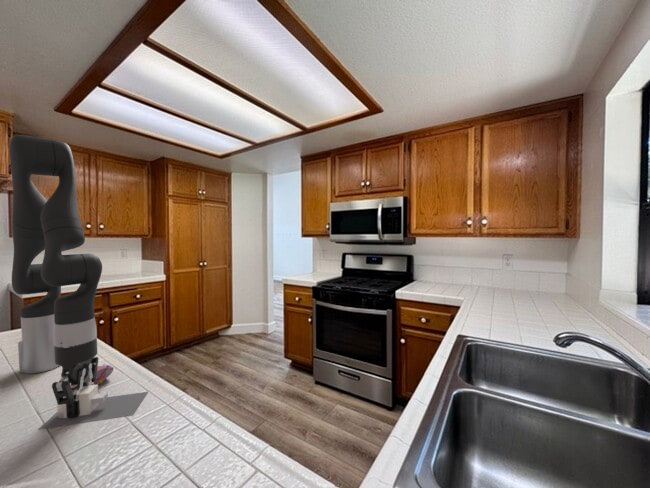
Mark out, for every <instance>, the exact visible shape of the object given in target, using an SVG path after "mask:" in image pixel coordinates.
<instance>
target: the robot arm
mask: <svg viewBox="0 0 650 488" xmlns="http://www.w3.org/2000/svg"><path fill="white" fill-rule="evenodd" d="M9 161H10V162H9V163H10V172H11V173H10V174H11V181H12V217H11V218H12V219H11V220H12V224H11V225H12V239H13V259H12V270H11V288H12V290H13V292H14V293H15V294H17V295H22V296H23V295H31V294H41V293H46V295H45V296H43V297H42V298H41V299H39V300H37V301H34V302H32V303H28V304H27V305H24V306H23V307H21V308H20V327H21V329H20V330H21V340H20V341H18V343H17V346H18V347H17V350H18V351H17V353H18V365H19V366H18V372H19V373H20V374H21V373H25V374H29V375H30V374H37V373H43V372H47V371H51V370H54V369H56V368H58V367H60V366H61V367H62V370H61V378H60V379H59V381H54V382H53V383H52V385H51V389H52V392H53V394H54V397H55V400H56V404H57V403H58V405H62V404H66V412H67V418H74V417H77V416H78V415H79V414H80V407H79V394H80V389H82V388H83V386H89V385H92V384H93V383H94V382H95V381H96V375H97V367H98V365H99V357H98V356H97V355H98V333H97V329H98V328H97V322H96V318H95V298H96V293H97V290H98V285H99V282H100V280H101V276H102V273H103V263H102V261H101V259H100V257H99V256H97V255H96V254H94V253H76V254H75V253H74V254H62V252H66V251H69V250H74V249H77V248H80V247H81V246H82V245H84V244H85V241H86V238H85V232H84V229H83V224H82V221H81V217H80V213H79V206H78V196H77V195H78V194H77V180H76V170H75V169H76V168H75V161H74V156H73V153H72V149H71V147H70V145H68V144H67V142H65V141H61V140H57V139H50V138H45V137H38V136H32V135H24V134H15V135H13V136H12V137H11V138H10V142H9ZM32 175H36V176H47V177H58V185H57V187H56V189H55V190H54V192H53V193H52V195H51V196H50V197H49V198H48V199H47V198H45V196H43V194H41V192H40V191H39V190H38V189H37V187H36V185H35V184H34V182H33V180H32V178H31V176H32ZM42 252H44V254H43V255H44V256H43V258H42V263H33V261H34V260H35V259H36V257H38V255H39V254H41V253H42ZM73 285H79V286H78V288H77V289H76V290H75V291H74V292H71V293H68V294H65V295H62V287H64V286H65V287H66V286H73ZM70 385H77V386H74V387H71V386H70ZM72 391H74V396H73V393H72ZM63 397H64V398H63Z"/></svg>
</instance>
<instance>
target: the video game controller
mask: <svg viewBox="0 0 650 488" xmlns="http://www.w3.org/2000/svg"><path fill="white" fill-rule="evenodd" d="M113 371H114V367H113V366H112V365H109V364H106V363H103V364H102V365H99V366H98V367H97V375H96V381H95V382H92V385H97V384H98V385H101V384H103V383H104V381H105V380H106V379H107V378H108V377H109V376H111V374H112V373H113ZM70 386H71V387H74V386H77V385H70Z"/></svg>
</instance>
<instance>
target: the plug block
mask: <svg viewBox="0 0 650 488" xmlns="http://www.w3.org/2000/svg"><path fill="white" fill-rule="evenodd" d="M72 393H73V396H74V391H72ZM108 393H109V392H101V393H99V384H97V385H95V384H93V385H89V386H83V388H82V389H80V394H79V407H80V414H79V415H78V416H82V415H89V414H90V413H91V412H92V411H93V410H94V409H95V408H96V407H97V406H98V405H99V403H103V402H104V401H105V400H106V399H107V398H108V397H109V394H108ZM63 398H64V397H63ZM56 409H57V410H56V413H57V416H58V418H67V412H66V404H62V405H58V403H57V402H56Z"/></svg>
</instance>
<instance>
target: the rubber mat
mask: <svg viewBox="0 0 650 488" xmlns="http://www.w3.org/2000/svg"><path fill="white" fill-rule="evenodd" d="M148 394H149V391H145V392H143V391H142V392H136V393H135V392H134V393H128V394H121V395H113V396H108V398H107V399H106V400H105V401H104V402H103V403H99V405H98V406H97V407H96V408H95V409H94V410H93V411H92V412H91V413H90V414H89V415H82V416H77V417H74V418H58V416H57V412H55V413H54V414H53V415H52V416H51V417H49V419H47V420H46V422H44V423H43V424H42V425H41V426H40V427H39V428H38V431H39V430H45V429H53V428H59V427H64V426H71V425H78V424H79V425H80V424H85V423H91V422H98V421H104V420H113V419H119V418H124V417H131V416H134V415H135V414H136V412H137V410H138V408H139V407H140V406H141V405H142V403H143V401H144V400H145V398H146V397H147V395H148Z"/></svg>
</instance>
